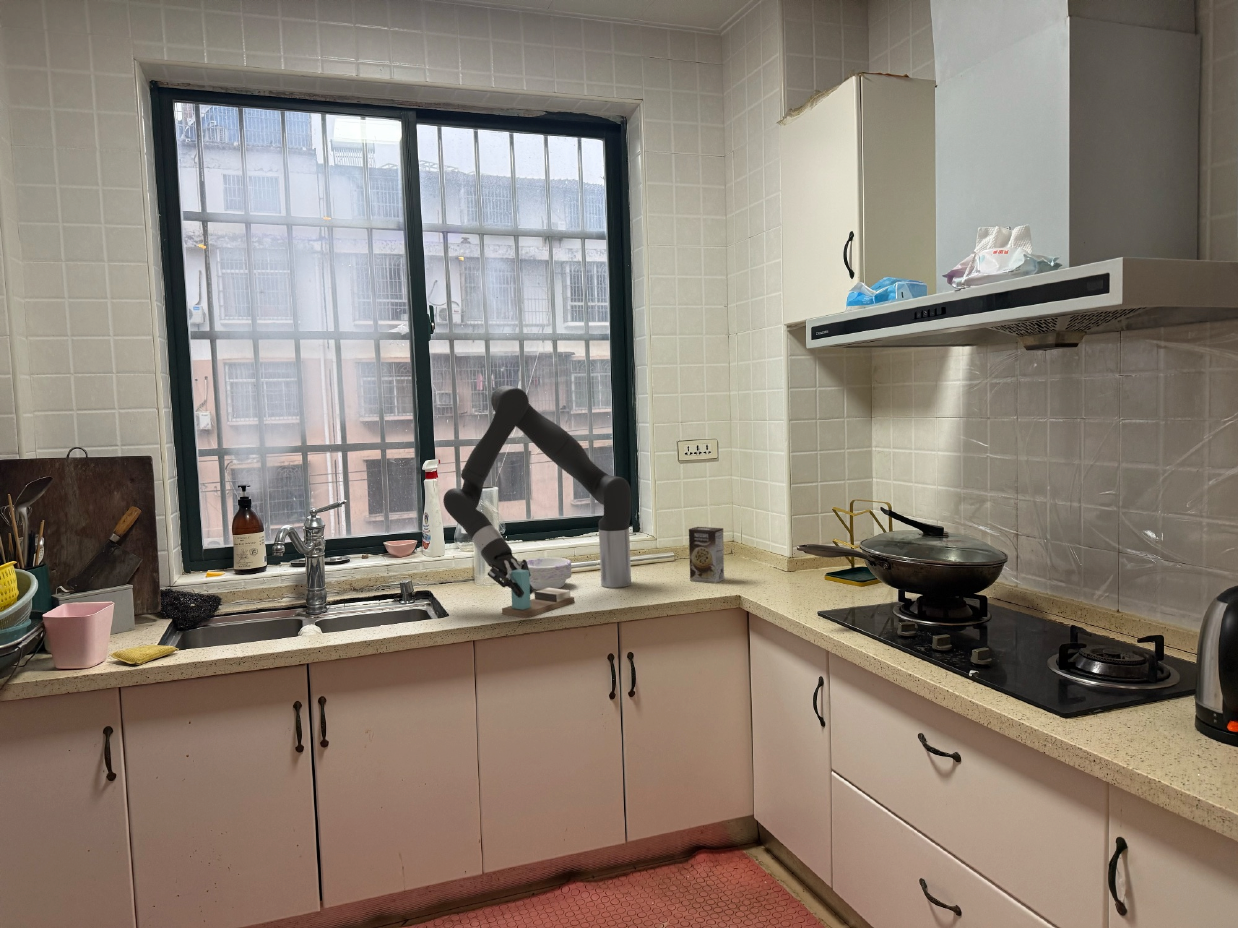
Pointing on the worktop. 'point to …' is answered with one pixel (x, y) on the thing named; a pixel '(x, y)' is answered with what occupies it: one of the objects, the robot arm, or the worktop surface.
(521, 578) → the teal rectangular block
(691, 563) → the coffee box
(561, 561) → the white and purple bowl
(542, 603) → the stand
